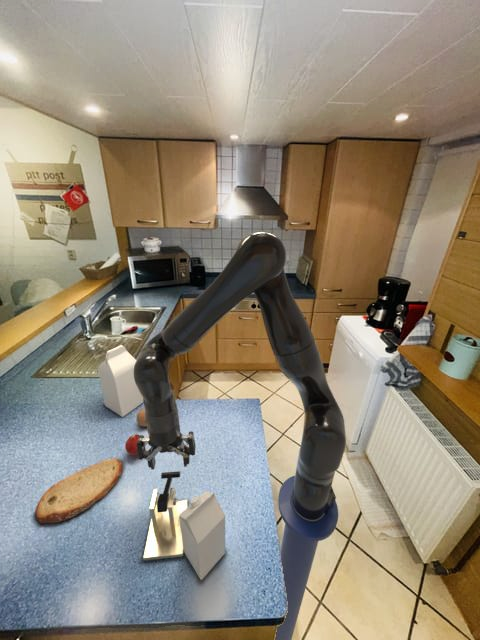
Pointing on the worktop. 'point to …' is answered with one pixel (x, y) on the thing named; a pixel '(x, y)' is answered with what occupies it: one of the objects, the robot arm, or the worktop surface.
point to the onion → (132, 444)
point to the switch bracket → (165, 529)
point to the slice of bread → (78, 491)
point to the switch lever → (166, 491)
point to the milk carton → (203, 532)
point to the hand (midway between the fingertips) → (169, 465)
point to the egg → (141, 418)
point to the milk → (119, 381)
